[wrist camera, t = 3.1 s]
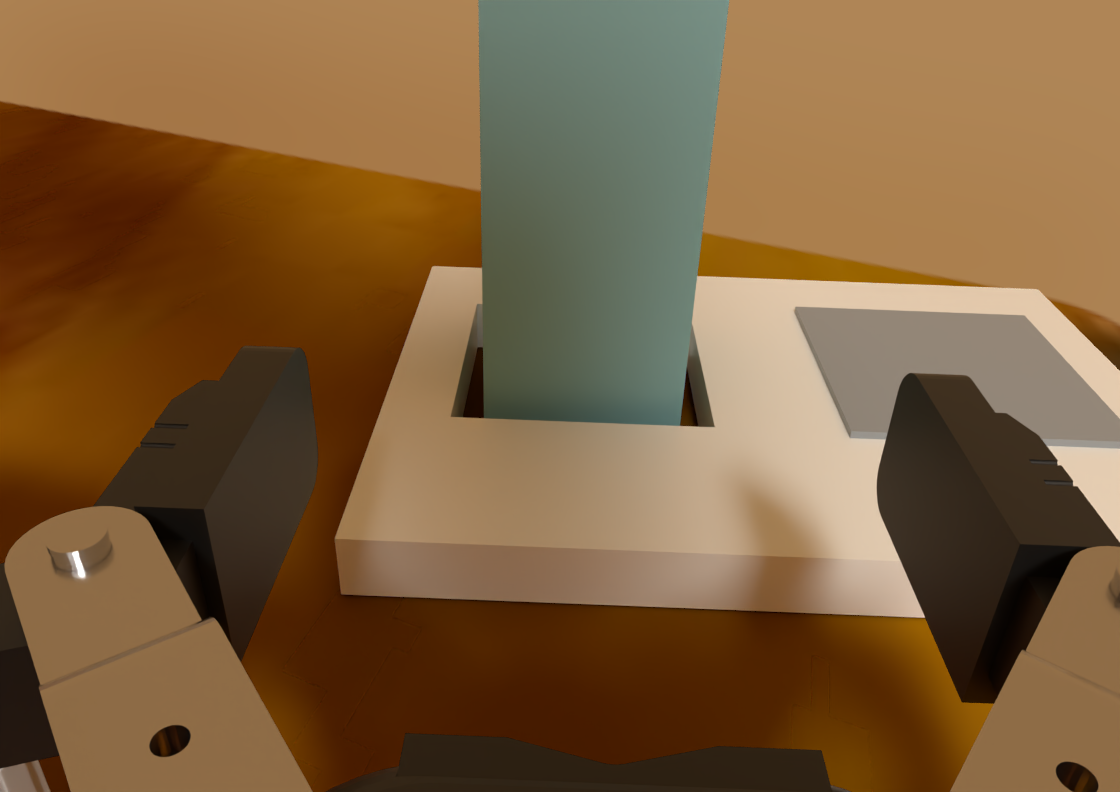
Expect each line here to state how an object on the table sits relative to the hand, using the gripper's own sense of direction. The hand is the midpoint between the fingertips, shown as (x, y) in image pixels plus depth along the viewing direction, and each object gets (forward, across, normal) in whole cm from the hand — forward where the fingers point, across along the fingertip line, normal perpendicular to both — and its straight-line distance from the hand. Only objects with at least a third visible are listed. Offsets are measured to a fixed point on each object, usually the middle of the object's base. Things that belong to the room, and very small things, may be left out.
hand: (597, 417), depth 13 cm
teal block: (+12, 0, +7) cm, 14 cm away
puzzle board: (+11, -5, +7) cm, 14 cm away
